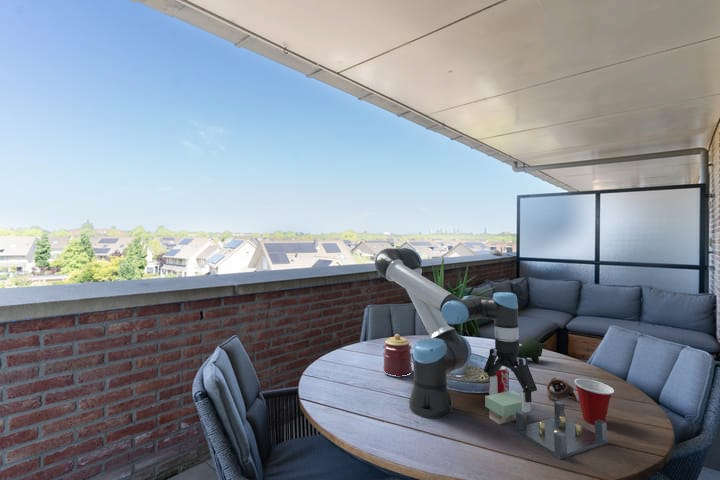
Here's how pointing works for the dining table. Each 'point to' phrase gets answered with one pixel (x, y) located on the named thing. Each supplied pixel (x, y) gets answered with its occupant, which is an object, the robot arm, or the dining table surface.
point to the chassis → (561, 433)
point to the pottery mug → (560, 389)
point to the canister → (397, 356)
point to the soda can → (502, 380)
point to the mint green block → (504, 403)
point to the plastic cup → (593, 399)
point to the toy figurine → (531, 349)
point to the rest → (499, 418)
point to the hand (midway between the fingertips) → (509, 403)
